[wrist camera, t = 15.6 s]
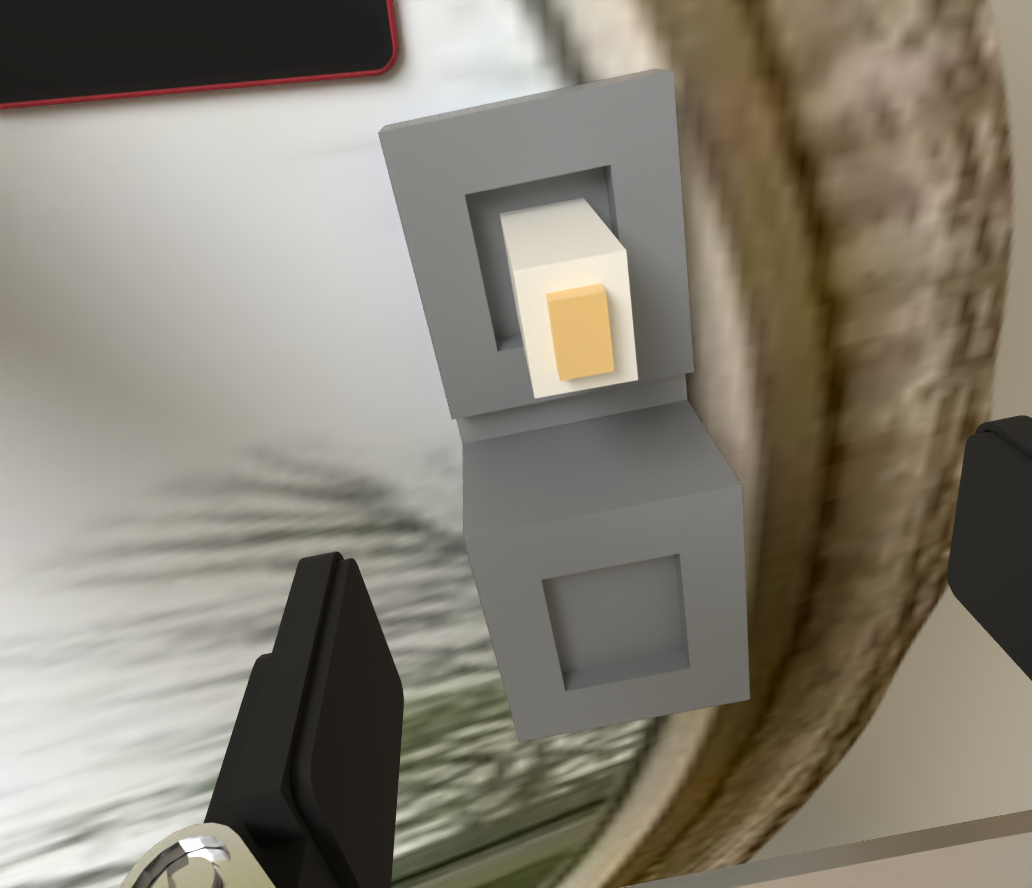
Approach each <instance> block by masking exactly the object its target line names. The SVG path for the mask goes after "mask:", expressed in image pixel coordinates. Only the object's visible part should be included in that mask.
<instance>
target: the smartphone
mask: <svg viewBox="0 0 1032 888" xmlns="http://www.w3.org/2000/svg"><path fill="white" fill-rule="evenodd" d="M397 56H398V38H397V30H396V23H395V16H394V9H393V1H392V0H0V109H8V108H19V107H30V106H41V105H52V104H64V103H75V102H86V101H97V100H108V99H119V98H130V97H142V96H153V95H164V94H175V93H186V92H197V91H208V90H220V89H231V88H242V87H253V86H264V85H275V84H286V83H298V82H309V81H320V80H331V79H342V78H353V77H365V76H375V75H380V74H383V73H385V72H387V71H388V70H389V69H390V68H391V67H392V66H393V65H394V63H395V61H396V59H397Z"/></svg>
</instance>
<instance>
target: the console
mask: <svg viewBox="0 0 1032 888" xmlns="http://www.w3.org/2000/svg"><path fill="white" fill-rule="evenodd" d="M378 134H379V138H380V142H381V146H382V150H383V153H384V157H385V161H386V165H387V169H388V173H389V177H390V181H391V185H392V188H393V192H394V196H395V200H396V204H397V208H398V212H399V216H400V219H401V223H402V227H403V231H404V235H405V239H406V243H407V247H408V250H409V254H410V258H411V262H412V266H413V270H414V274H415V278H416V282H417V285H418V289H419V293H420V297H421V301H422V305H423V309H424V313H425V316H426V320H427V324H428V328H429V332H430V336H431V340H432V344H433V347H434V351H435V355H436V359H437V363H438V367H439V371H440V375H441V379H442V382H443V386H444V390H445V394H446V398H447V402H448V406H449V410H450V413H451V417H452V420H453V419H456V420H457V424H458V428H459V432H460V435H461V439H462V443H463V539H464V543H465V547H466V550H467V554H468V558H469V561H470V565H471V569H472V572H473V576H474V579H475V583H476V587H477V590H478V594H479V598H480V601H481V605H482V609H483V612H484V616H485V620H486V623H487V627H488V631H489V634H490V638H491V641H492V645H493V649H494V652H495V656H496V660H497V663H498V667H499V671H500V674H501V678H502V682H503V685H504V689H505V693H506V696H507V700H508V703H509V707H510V711H511V714H512V718H513V722H514V725H515V729H516V733H517V736H518V740H519V742H521V741H527V740H532V739H538V738H543V737H549V736H554V735H559V734H565V733H570V732H576V731H581V730H587V729H592V728H598V727H603V726H609V725H614V724H619V723H625V722H630V721H636V720H641V719H647V718H652V717H658V716H663V715H669V714H674V713H679V712H685V711H690V710H696V709H701V708H707V707H712V706H718V705H723V704H729V703H734V702H740V701H745V700H750V684H749V657H748V630H747V603H746V576H745V549H744V522H743V495H742V484H741V482H740V481H739V479H738V478H737V476H736V475H735V473H734V472H733V470H732V468H731V467H730V465H729V464H728V462H727V461H726V459H725V458H724V456H723V454H722V453H721V451H720V450H719V448H718V447H717V445H716V444H715V442H714V440H713V439H712V437H711V436H710V434H709V433H708V431H707V430H706V428H705V426H704V425H703V423H702V422H701V420H700V419H699V417H698V416H697V414H696V412H695V411H694V409H693V408H692V406H691V405H690V403H689V402H688V400H687V388H686V375H685V374H686V373H691V372H694V361H693V347H692V333H691V318H690V304H689V289H688V275H687V261H686V246H685V232H684V217H683V203H682V189H681V174H680V160H679V145H678V131H677V117H676V102H675V88H674V73H673V71H669V70H661V69H652V70H648V71H643V72H638V73H633V74H629V75H624V76H619V77H614V78H610V79H605V80H600V81H595V82H590V83H586V84H581V85H576V86H571V87H567V88H562V89H557V90H552V91H548V92H543V93H538V94H533V95H529V96H524V97H519V98H514V99H510V100H505V101H500V102H495V103H491V104H486V105H481V106H476V107H471V108H467V109H462V110H457V111H452V112H448V113H443V114H438V115H433V116H429V117H424V118H419V119H414V120H410V121H405V122H400V123H395V124H391V125H386V126H384V127H383V128H382V129H381V130H380V131H379V133H378ZM579 198H584V199H585V200H586V201H587V203H588V204H589V205H590V206H591V208H592V209H593V210H594V211H595V212H596V214H597V215H598V216H599V217H600V219H601V220H602V221H603V222H604V223H605V225H606V226H607V227H608V228H609V230H610V231H611V232H612V233H613V235H614V236H615V237H616V238H617V239H618V241H619V242H620V243H621V244H622V246H623V247H624V248H625V249H626V252H627V263H628V274H629V285H630V296H631V307H632V318H633V329H634V340H635V351H636V362H637V373H638V380H635V381H630V382H624V383H618V384H613V385H607V386H602V387H596V388H591V389H585V390H580V391H574V392H568V393H563V394H557V395H552V396H546V397H541V398H535V397H534V393H533V388H532V383H531V378H530V374H529V369H528V364H527V360H526V355H525V350H524V345H523V341H522V336H521V331H520V327H519V322H518V317H517V312H516V306H515V301H514V295H513V289H512V283H511V277H510V272H509V266H508V260H507V254H506V248H505V243H504V237H503V231H502V225H501V219H500V214H499V213H503V212H508V211H514V210H519V209H525V208H530V207H535V206H541V205H546V204H552V203H557V202H562V201H568V200H573V199H579Z"/></svg>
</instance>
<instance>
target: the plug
mask: <svg viewBox="0 0 1032 888" xmlns="http://www.w3.org/2000/svg"><path fill="white" fill-rule="evenodd" d="M499 214H500V219H501V225H502V231H503V237H504V243H505V248H506V254H507V260H508V266H509V272H510V277H511V283H512V289H513V295H514V301H515V306H516V312H517V317H518V322H519V327H520V331H521V336H522V341H523V345H524V350H525V355H526V360H527V364H528V369H529V374H530V378H531V383H532V388H533V393H534V397H535V398H541V397H546V396H552V395H557V394H563V393H568V392H574V391H580V390H585V389H591V388H596V387H602V386H607V385H613V384H618V383H624V382H630V381H635V380H638V373H637V362H636V351H635V340H634V329H633V318H632V307H631V296H630V285H629V274H628V263H627V252H626V249H625V248H624V247H623V246H622V244H621V243H620V242H619V241H618V239H617V238H616V237H615V236H614V235H613V233H612V232H611V231H610V230H609V228H608V227H607V226H606V225H605V223H604V222H603V221H602V220H601V219H600V217H599V216H598V215H597V214H596V212H595V211H594V210H593V209H592V208H591V206H590V205H589V204H588V203H587V201H586V200H585V199H584V198H579V199H573V200H568V201H562V202H557V203H552V204H546V205H541V206H535V207H530V208H525V209H519V210H514V211H508V212H503V213H499Z"/></svg>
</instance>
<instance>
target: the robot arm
mask: <svg viewBox="0 0 1032 888" xmlns="http://www.w3.org/2000/svg"><path fill="white" fill-rule="evenodd" d="M947 578H948V583H949V586H950V588H951V590H952V592H953V594H954V595H955V597H956V598H957V599H958V600H959V601H960V602H961V604H962V605H963V606H964V607H965V608H966V609H967V610H968V611H969V612H970V613H971V614H972V616H973V617H974V618H975V619H976V620H977V621H978V622H979V623H980V624H981V626H982V627H983V628H984V629H985V630H986V631H987V632H988V633H989V634H990V635H991V636H992V637H993V639H994V640H995V641H996V642H997V643H998V644H999V645H1000V646H1001V647H1002V648H1003V649H1004V651H1005V652H1006V653H1007V654H1008V655H1009V656H1010V657H1011V658H1012V660H1013V661H1014V662H1015V663H1016V664H1017V665H1018V666H1019V667H1020V668H1021V669H1022V671H1023V672H1024V673H1025V674H1026V675H1027V676H1028V677H1029V678H1030V679H1031V680H1032V418H1030V417H1028V416H1016V417H1010V418H1005V419H1001V420H996V421H990V422H985V423H983V424H981V425H979V427H978V428H977V429H976V432H975V435H972V436H970V437H969V438H968V439H967V442H966V445H965V452H964V459H963V466H962V473H961V480H960V487H959V494H958V501H957V508H956V515H955V522H954V529H953V536H952V543H951V550H950V557H949V563H948V570H947ZM403 708H404V696H403V688H402V683H401V680H400V677H399V674H398V672H397V669H396V666H395V664H394V661H393V658H392V656H391V653H390V650H389V648H388V645H387V642H386V640H385V637H384V634H383V632H382V629H381V626H380V624H379V621H378V618H377V616H376V613H375V610H374V608H373V605H372V602H371V600H370V597H369V594H368V592H367V589H366V586H365V583H364V581H363V578H362V575H361V573H360V570H359V567H358V565H357V563H356V561H355V560H354V559H353V558H350V559H345V560H344V559H343V556H342V555H341V554H340V552H331V553H326V554H321V555H316V556H311V557H306V558H302V559H301V560H300V561H299V563H298V566H297V569H296V573H295V576H294V579H293V583H292V586H291V590H290V593H289V597H288V600H287V603H286V607H285V610H284V614H283V617H282V620H281V624H280V627H279V631H278V634H277V638H276V641H275V644H274V648H273V651H272V653H269V654H264V655H261V656H260V657H259V658H258V659H257V660H256V662H255V664H254V666H253V669H252V672H251V675H250V678H249V681H248V684H247V688H246V691H245V694H244V697H243V700H242V703H241V707H240V710H239V713H238V716H237V719H236V722H235V726H234V729H233V732H232V735H231V738H230V741H229V745H228V748H227V751H226V754H225V757H224V760H223V764H222V767H221V770H220V773H219V776H218V779H217V783H216V786H215V789H214V792H213V795H212V798H211V802H210V805H209V808H208V811H207V814H206V817H205V820H204V823H203V824H195V825H192V826H189V827H187V828H184V829H182V830H179V831H177V832H174V833H173V834H171V835H170V836H168V837H167V838H165V839H164V840H162V841H160V842H159V843H157V844H156V845H155V846H154V847H153V848H151V849H150V850H149V851H148V852H147V853H146V854H145V855H144V856H143V857H142V858H141V859H140V860H139V861H138V862H137V863H136V864H135V866H134V867H133V868H132V870H131V871H130V872H129V874H128V875H127V877H126V878H125V879H124V881H123V882H122V884H121V886H120V888H391V879H392V864H393V850H394V836H395V822H396V808H397V793H398V779H399V765H400V751H401V736H402V722H403ZM620 888H1032V810H1028V811H1023V812H1017V813H1012V814H1006V815H1001V816H995V817H990V818H985V819H979V820H974V821H968V822H963V823H957V824H952V825H947V826H941V827H936V828H931V829H925V830H920V831H915V832H909V833H904V834H899V835H893V836H888V837H883V838H877V839H872V840H866V841H861V842H856V843H851V844H845V845H840V846H835V847H829V848H824V849H819V850H813V851H808V852H803V853H798V854H792V855H787V856H782V857H776V858H771V859H766V860H761V861H755V862H750V863H744V864H739V865H734V866H729V867H724V868H719V869H713V870H708V871H703V872H698V873H693V874H687V875H682V876H677V877H672V878H667V879H662V880H656V881H651V882H646V883H641V884H636V885H631V886H625V887H620Z"/></svg>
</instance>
